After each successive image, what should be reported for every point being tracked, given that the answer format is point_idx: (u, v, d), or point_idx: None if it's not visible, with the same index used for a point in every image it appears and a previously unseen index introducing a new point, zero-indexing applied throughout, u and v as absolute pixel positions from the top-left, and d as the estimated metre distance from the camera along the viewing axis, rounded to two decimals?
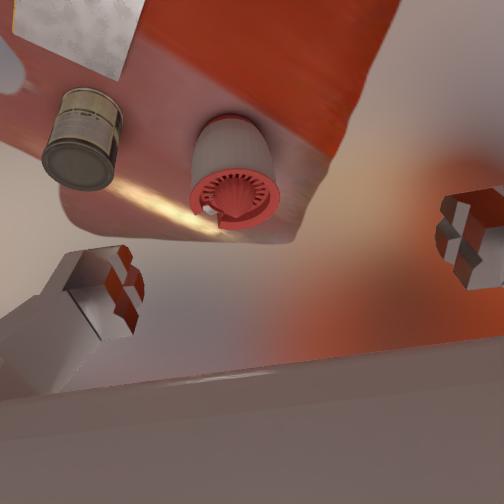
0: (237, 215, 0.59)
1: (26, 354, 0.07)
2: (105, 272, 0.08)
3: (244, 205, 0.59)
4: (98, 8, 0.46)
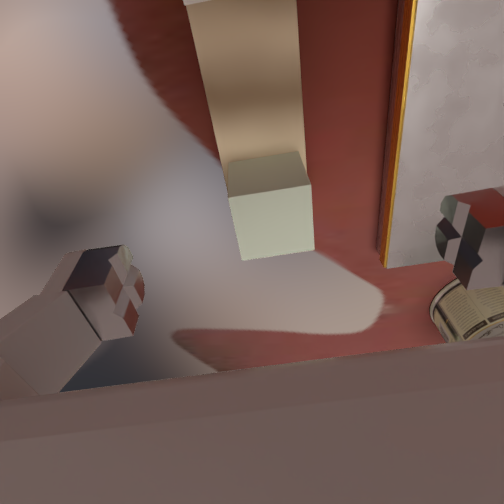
0: None
1: (26, 354, 0.07)
2: (105, 272, 0.08)
3: None
4: None
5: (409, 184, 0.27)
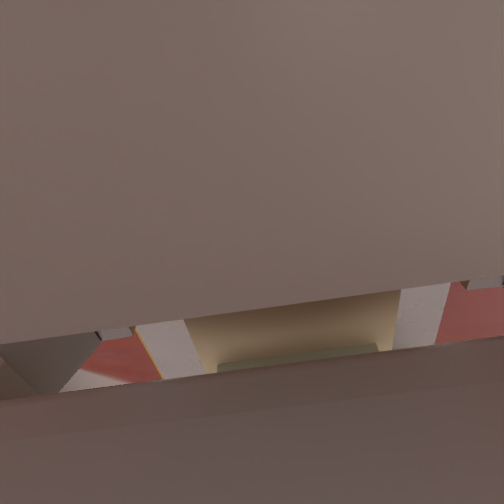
0: None
1: (26, 354, 0.07)
2: None
3: None
4: None
5: None
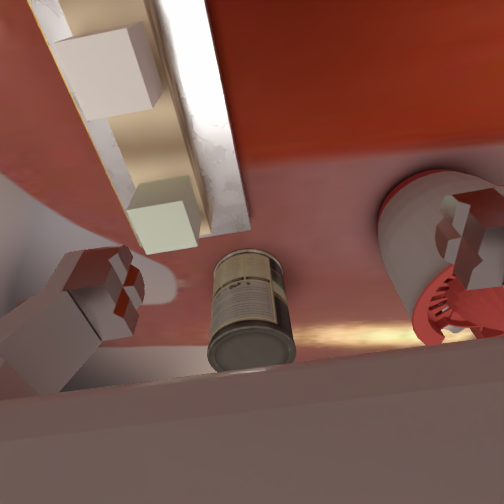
0: None
1: (26, 354, 0.07)
2: (105, 272, 0.08)
3: None
4: None
5: (121, 183, 0.38)
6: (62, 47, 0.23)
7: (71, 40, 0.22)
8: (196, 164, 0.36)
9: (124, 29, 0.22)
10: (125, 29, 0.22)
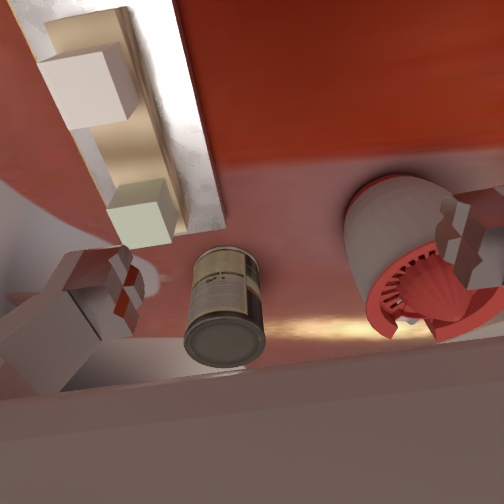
0: (457, 317, 0.33)
1: (26, 354, 0.07)
2: (105, 272, 0.08)
3: (461, 295, 0.34)
4: None
5: (104, 184, 0.42)
6: (45, 67, 0.26)
7: (53, 61, 0.26)
8: (173, 168, 0.39)
9: (100, 52, 0.25)
10: (101, 52, 0.25)
